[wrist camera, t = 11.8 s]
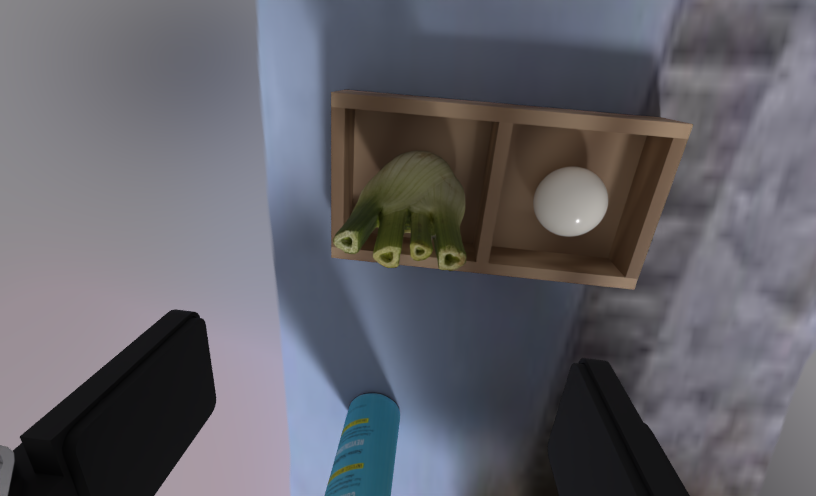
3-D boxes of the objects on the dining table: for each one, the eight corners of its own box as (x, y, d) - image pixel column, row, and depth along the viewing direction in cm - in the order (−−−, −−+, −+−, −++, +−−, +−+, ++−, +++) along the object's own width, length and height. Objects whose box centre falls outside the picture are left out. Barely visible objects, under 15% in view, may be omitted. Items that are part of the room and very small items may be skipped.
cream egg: (601, 163, 26) (630, 179, 22) (584, 225, 28) (608, 251, 24) (534, 156, 26) (550, 172, 22) (521, 219, 28) (534, 243, 24)
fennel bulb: (366, 184, 28) (317, 256, 17) (405, 125, 26) (378, 164, 15) (432, 230, 29) (426, 325, 18) (474, 176, 27) (496, 246, 16)
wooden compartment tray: (661, 117, 25) (693, 124, 22) (612, 265, 30) (634, 289, 27) (345, 89, 26) (331, 92, 23) (343, 237, 31) (331, 257, 27)
